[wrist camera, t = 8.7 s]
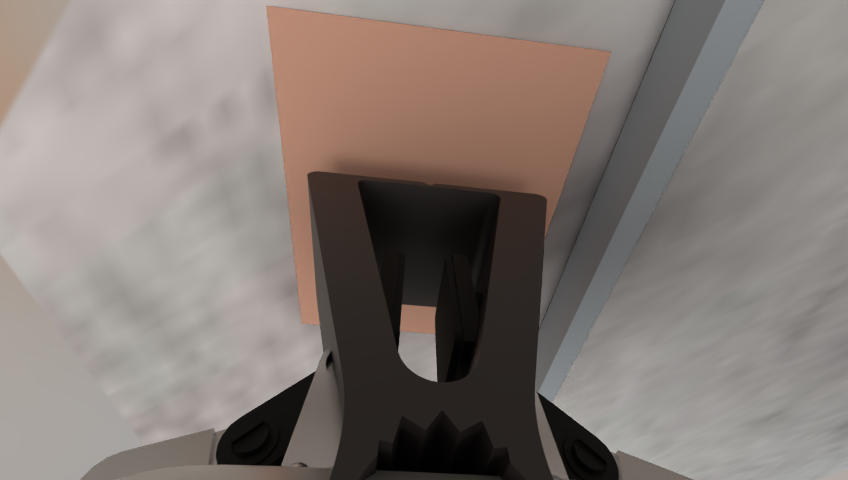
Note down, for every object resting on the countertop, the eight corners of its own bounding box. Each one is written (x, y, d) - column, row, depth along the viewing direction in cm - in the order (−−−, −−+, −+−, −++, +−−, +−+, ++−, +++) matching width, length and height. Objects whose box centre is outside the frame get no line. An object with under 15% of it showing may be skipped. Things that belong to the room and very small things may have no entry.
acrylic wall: (723, -34, 12) (791, -51, 10) (540, 367, 23) (552, 401, 21) (691, -40, 12) (752, -57, 9) (524, 366, 23) (534, 400, 21)
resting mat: (606, 51, 13) (611, 52, 13) (507, 334, 21) (509, 339, 21) (270, 6, 12) (266, 6, 12) (303, 318, 20) (301, 323, 20)
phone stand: (544, 194, 13) (1024, 802, 3) (506, 308, 16) (657, 791, 6) (310, 168, 12) (-256, 824, 2) (318, 292, 15) (111, 797, 5)
